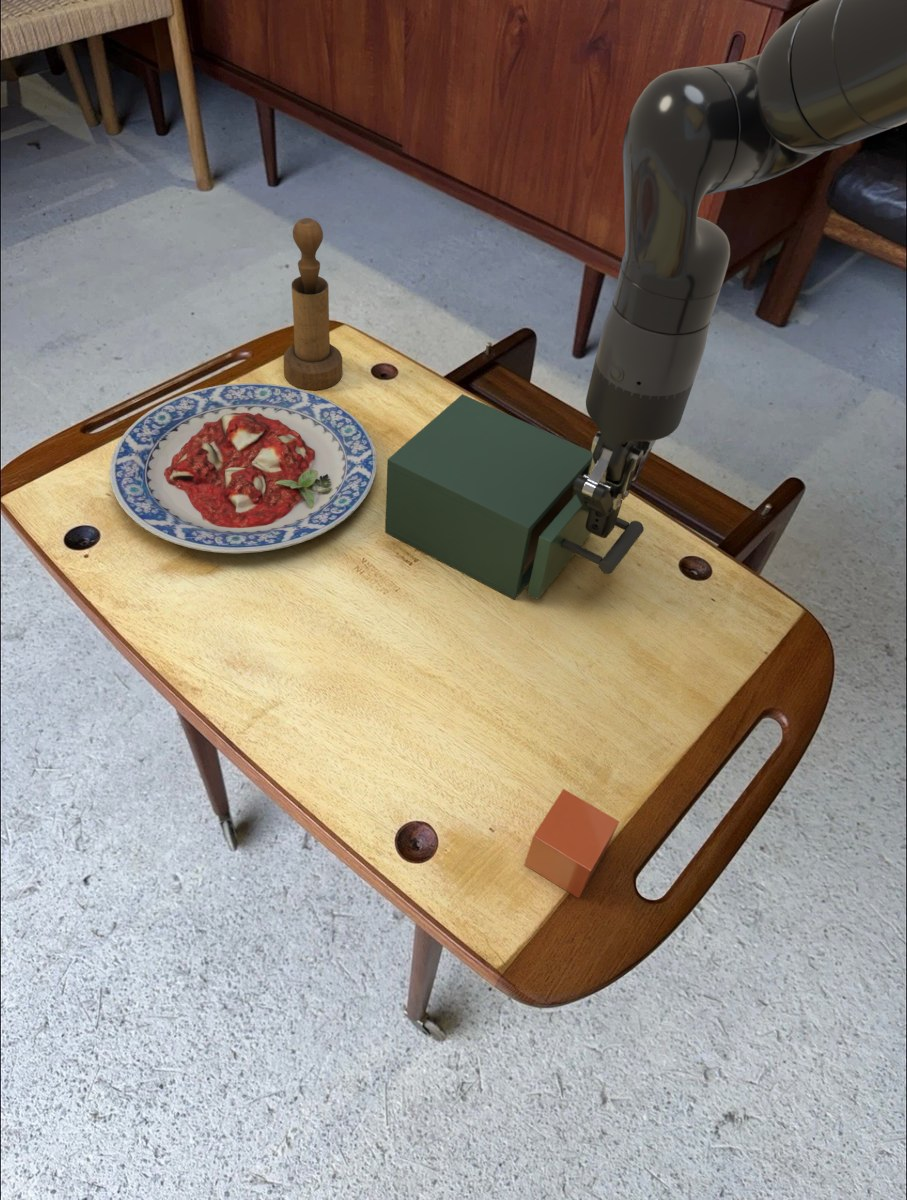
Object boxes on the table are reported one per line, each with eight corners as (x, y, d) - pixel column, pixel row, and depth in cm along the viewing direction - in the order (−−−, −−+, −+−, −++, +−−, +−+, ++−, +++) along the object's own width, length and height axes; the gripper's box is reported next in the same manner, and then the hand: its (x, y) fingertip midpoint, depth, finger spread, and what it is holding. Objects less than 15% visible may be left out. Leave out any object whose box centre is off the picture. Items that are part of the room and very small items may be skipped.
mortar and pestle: (304, 397, 100) (296, 242, 86) (273, 368, 103) (261, 214, 90) (353, 378, 103) (353, 226, 90) (322, 351, 106) (317, 200, 93)
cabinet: (577, 524, 90) (595, 453, 83) (514, 600, 82) (528, 528, 75) (454, 466, 94) (462, 393, 87) (384, 532, 87) (387, 459, 80)
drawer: (642, 552, 86) (661, 496, 81) (589, 625, 80) (606, 569, 74) (477, 474, 92) (485, 416, 87) (415, 536, 85) (419, 477, 80)
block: (606, 850, 66) (619, 821, 63) (578, 898, 64) (591, 871, 60) (553, 818, 68) (563, 788, 64) (523, 864, 65) (533, 835, 62)
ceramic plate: (57, 481, 88) (50, 457, 85) (249, 371, 102) (247, 348, 100) (246, 611, 79) (242, 589, 76) (427, 470, 93) (428, 447, 91)
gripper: (656, 425, 62) (604, 593, 75) (724, 342, 70) (666, 507, 83) (560, 384, 64) (526, 554, 77) (637, 309, 72) (594, 474, 85)
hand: (599, 529), depth 80 cm, fingers closed
